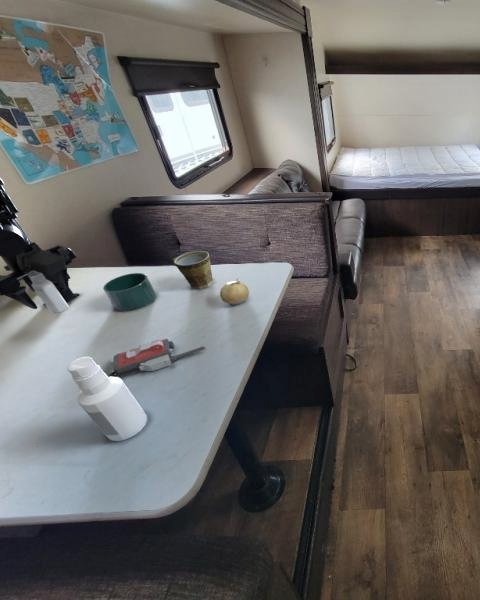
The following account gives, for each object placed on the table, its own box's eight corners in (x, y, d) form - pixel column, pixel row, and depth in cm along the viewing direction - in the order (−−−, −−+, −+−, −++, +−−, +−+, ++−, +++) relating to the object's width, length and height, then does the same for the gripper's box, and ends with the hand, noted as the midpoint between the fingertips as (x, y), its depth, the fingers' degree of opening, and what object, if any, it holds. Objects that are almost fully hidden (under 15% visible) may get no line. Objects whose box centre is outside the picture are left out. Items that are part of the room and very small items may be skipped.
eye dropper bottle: (47, 317, 85) (16, 276, 78) (50, 306, 89) (21, 266, 82) (69, 311, 87) (40, 270, 80) (71, 301, 91) (44, 261, 84)
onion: (234, 311, 101) (227, 291, 97) (218, 303, 104) (210, 283, 100) (256, 298, 106) (250, 278, 102) (240, 291, 110) (233, 272, 106)
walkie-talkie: (111, 387, 77) (207, 354, 86) (101, 373, 74) (201, 341, 83) (114, 363, 83) (203, 335, 92) (105, 350, 81) (197, 322, 89)
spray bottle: (120, 413, 71) (72, 351, 61) (154, 411, 71) (112, 348, 61) (99, 443, 65) (42, 379, 55) (136, 440, 66) (86, 376, 55)
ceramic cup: (224, 277, 117) (215, 251, 111) (206, 293, 109) (195, 266, 103) (191, 274, 119) (180, 249, 113) (170, 290, 111) (158, 263, 105)
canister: (106, 310, 101) (93, 291, 98) (132, 291, 111) (122, 272, 107) (140, 312, 101) (129, 292, 97) (164, 292, 110) (155, 273, 106)
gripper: (-1, 263, 69) (46, 322, 78) (78, 227, 84) (109, 280, 93) (-50, 261, 70) (2, 320, 78) (37, 226, 85) (72, 279, 94)
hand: (51, 298), depth 86 cm, fingers closed on eye dropper bottle, 8 cm apart
